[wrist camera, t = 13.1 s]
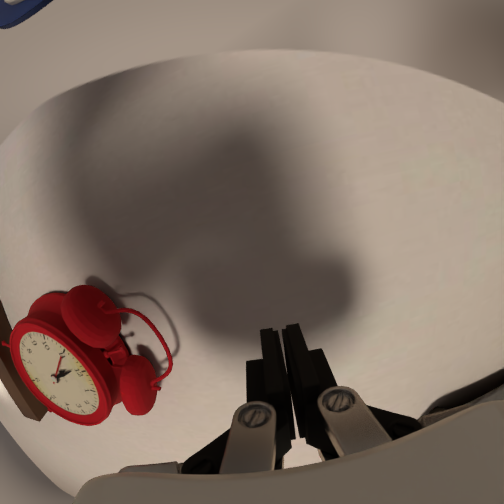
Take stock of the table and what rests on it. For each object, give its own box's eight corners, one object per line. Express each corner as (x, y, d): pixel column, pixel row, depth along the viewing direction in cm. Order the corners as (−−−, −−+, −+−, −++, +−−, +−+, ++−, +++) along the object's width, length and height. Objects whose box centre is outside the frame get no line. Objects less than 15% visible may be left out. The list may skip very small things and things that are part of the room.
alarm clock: (-13, 330, 13) (52, 296, 9) (32, 300, 19) (131, 248, 14) (55, 428, 15) (176, 460, 11) (89, 389, 21) (210, 387, 17)
